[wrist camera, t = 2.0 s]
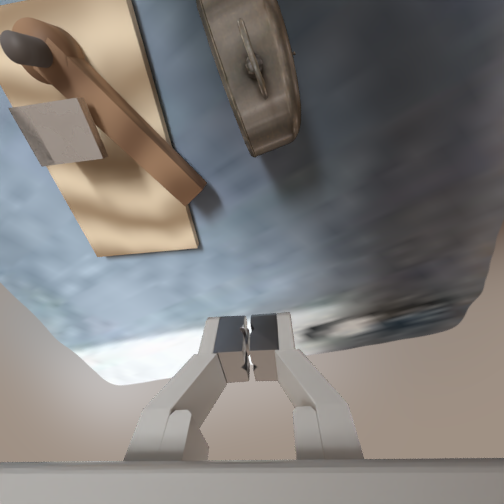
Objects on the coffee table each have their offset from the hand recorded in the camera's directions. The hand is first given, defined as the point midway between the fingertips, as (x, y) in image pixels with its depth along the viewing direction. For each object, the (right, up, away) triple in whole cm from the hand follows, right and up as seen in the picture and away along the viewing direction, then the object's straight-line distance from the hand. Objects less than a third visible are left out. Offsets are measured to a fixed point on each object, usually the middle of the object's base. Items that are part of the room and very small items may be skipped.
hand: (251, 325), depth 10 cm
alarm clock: (+1, +20, +15) cm, 25 cm away
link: (-13, +16, +16) cm, 26 cm away
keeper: (-18, +16, +16) cm, 29 cm away
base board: (-17, +14, +19) cm, 29 cm away
